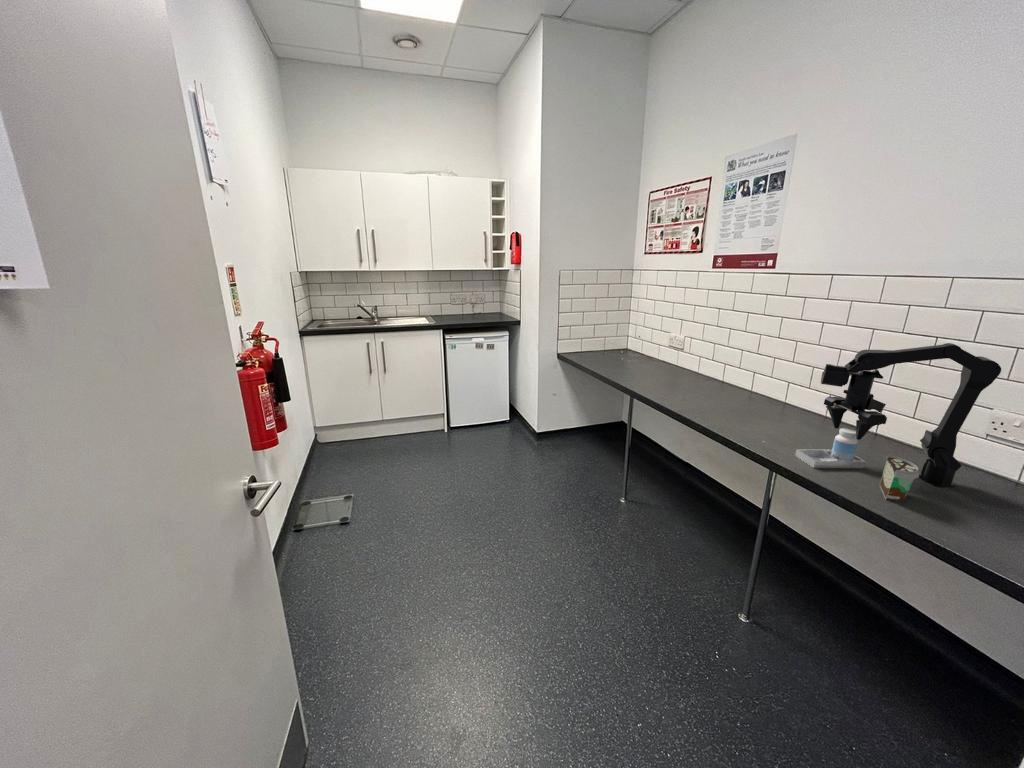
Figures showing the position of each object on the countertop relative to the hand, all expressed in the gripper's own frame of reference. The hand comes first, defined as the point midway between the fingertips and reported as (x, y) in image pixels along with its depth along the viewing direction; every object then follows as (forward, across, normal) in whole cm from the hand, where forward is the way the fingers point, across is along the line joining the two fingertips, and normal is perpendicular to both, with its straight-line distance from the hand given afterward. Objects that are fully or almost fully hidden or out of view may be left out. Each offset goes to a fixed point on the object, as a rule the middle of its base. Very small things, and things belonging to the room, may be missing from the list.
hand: (847, 433), depth 138 cm
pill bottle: (+10, 0, 0) cm, 10 cm away
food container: (+10, -21, 0) cm, 24 cm away
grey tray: (+10, 0, +4) cm, 11 cm away
